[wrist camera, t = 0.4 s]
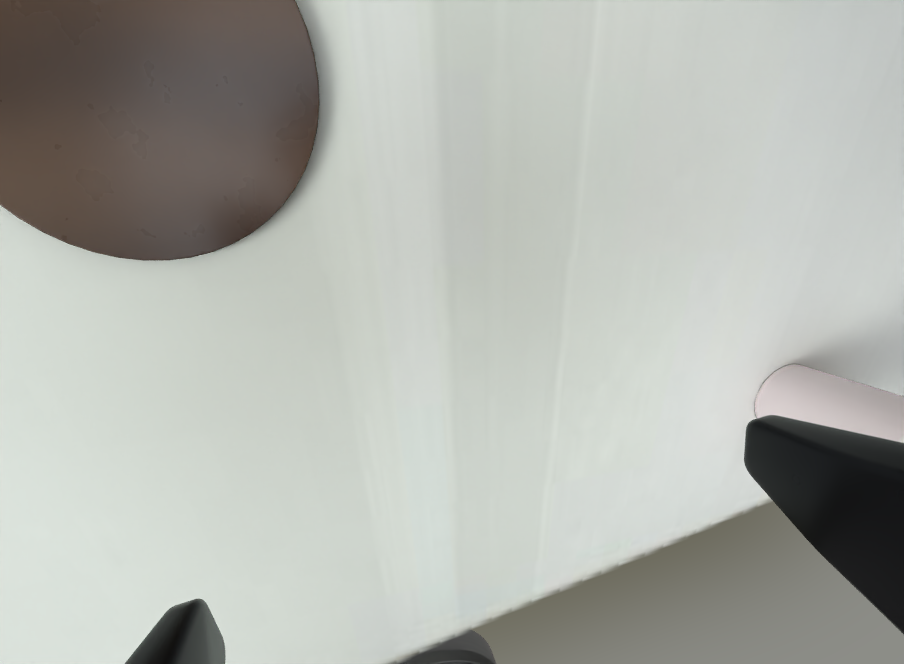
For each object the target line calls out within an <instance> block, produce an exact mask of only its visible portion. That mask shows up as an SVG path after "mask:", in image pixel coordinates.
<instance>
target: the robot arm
mask: <svg viewBox="0 0 904 664" xmlns="http://www.w3.org/2000/svg"><path fill="white" fill-rule="evenodd" d="M744 462H745V466H746V468H747V470H748V472H749V474H750V475H751V476H752V477H753V478H754V480H755V481H756V482H757V483H758V484H759V485H760V486H761V488H762V489H763V490H764V491H765V492H766V493H767V494H768V496H769V497H770V498H771V499H772V500H773V501H774V502H775V504H776V505H777V506H778V507H779V508H780V509H781V510H782V511H783V513H784V514H785V515H786V516H787V517H788V518H789V519H790V521H791V522H792V523H793V524H794V525H795V526H796V527H797V529H798V530H799V531H800V532H801V533H802V534H803V535H804V537H805V538H806V539H807V540H808V541H809V542H810V543H811V544H812V545H813V546H814V547H815V549H817V551H818V552H820V554H821V555H822V556H823V557H824V558H825V559H826V560H827V561H828V562H829V563H831V564H832V565H833V566H834V567H835V568H836V569H837V570H838V571H839V572H840V573H841V574H842V575H843V576H844V577H845V578H846V579H847V580H848V581H849V582H850V583H851V584H852V585H853V586H854V587H856V589H857V590H858V591H860V592H861V593H862V594H863V595H864V596H865V597H866V598H867V599H868V600H869V601H870V602H871V603H872V604H873V605H874V606H875V607H876V608H877V609H878V610H879V611H880V612H881V613H882V614H883V615H884V616H886V617H887V619H888V620H890V621H891V622H892V623H893V624H894V625H895V626H896V627H897V628H898V629H899V630H900V631H901V632H902V633H903V634H904V443H902V442H897V441H893V440H888V439H883V438H879V437H874V436H869V435H865V434H860V433H856V432H851V431H846V430H842V429H837V428H833V427H828V426H823V425H819V424H814V423H810V422H805V421H800V420H796V419H791V418H787V417H782V416H777V415H767V416H764V417H761V418H758V419H754V420H752V421H750V422H749V423H748V425H747V427H746V438H745V453H744ZM125 664H225V645H224V640H223V637H222V635H221V633H220V630H219V628H218V626H217V624H216V622H215V620H214V618H213V616H212V614H211V612H210V610H209V608H208V605H207V604H206V602H205V601H204V600H202V599H194V600H191V601H188V602H185V603H182V604H179V605H176V606H174V607H172V608H170V609H169V610H168V611H167V612H166V613H165V614H164V615H163V617H162V618H161V619H160V620H159V622H158V623H157V624H156V625H155V627H154V628H153V629H152V630H151V632H150V633H149V634H148V635H147V637H146V638H145V639H144V640H143V642H142V643H141V644H140V645H139V647H138V648H137V649H136V650H135V652H134V653H133V654H132V655H131V657H130V658H129V659H128V660H127V662H126V663H125Z"/></svg>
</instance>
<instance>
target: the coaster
mask: <svg viewBox="0 0 904 664" xmlns="http://www.w3.org/2000/svg"><path fill="white" fill-rule="evenodd" d="M318 114H319V84H318V75H317V68H316V62H315V56H314V52H313V48H312V45H311V41H310V38H309V34H308V31H307V28H306V25H305V23H304V20H303V18H302V15H301V13H300V10H299V8H298V6H297V3H296V1H295V0H0V205H1V206H2V207H4V208H5V209H7V210H8V211H9V212H11V213H12V214H13V215H15V216H16V217H18V218H19V219H21V220H23V221H24V222H26V223H28V224H30V225H31V226H33V227H35V228H37V229H38V230H40V231H42V232H44V233H46V234H48V235H50V236H52V237H55V238H57V239H59V240H61V241H64V242H66V243H68V244H71V245H74V246H77V247H80V248H83V249H86V250H89V251H92V252H95V253H100V254H104V255H109V256H114V257H118V258H126V259H136V260H174V259H182V258H190V257H194V256H198V255H202V254H206V253H210V252H214V251H216V250H219V249H221V248H224V247H226V246H228V245H231V244H233V243H235V242H237V241H239V240H240V239H242V238H244V237H246V236H247V235H249V234H251V233H252V232H254V231H255V230H256V229H258V228H259V227H260V226H262V225H263V224H264V223H265V222H267V221H268V220H269V219H270V218H271V217H272V216H273V215H274V214H275V213H276V212H277V211H278V210H279V209H280V208H281V207H282V206H283V204H284V203H285V202H286V200H287V199H288V198H289V196H290V195H291V193H292V192H293V191H294V189H295V188H296V186H297V184H298V182H299V180H300V178H301V177H302V175H303V173H304V171H305V169H306V166H307V163H308V160H309V158H310V155H311V152H312V149H313V145H314V140H315V136H316V131H317V125H318Z"/></svg>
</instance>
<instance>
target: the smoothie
mask: <svg viewBox="0 0 904 664" xmlns="http://www.w3.org/2000/svg"><path fill="white" fill-rule="evenodd" d="M755 413H756V416H757V418H761V417H764V416H767V415H777V416H782V417H787V418H791V419H796V420H800V421H805V422H810V423H814V424H819V425H823V426H828V427H833V428H837V429H842V430H846V431H851V432H856V433H860V434H865V435H869V436H874V437H879V438H883V439H888V440H893V441H897V442H902V443H904V396H901V395H897V394H894V393H891V392H888V391H884V390H881V389H878V388H874V387H871V386H868V385H864V384H861V383H858V382H855V381H851V380H848V379H845V378H841V377H838V376H835V375H832V374H828V373H825V372H822V371H818V370H815V369H812V368H809V367H805V366H802V365H798V364H792V365H787V366H784V367H782V368H780V369H778V370H777V371H775V372H774V373H773V374H772V375H770V376H769V377H768V378H767V380H766V381H765V382H764V383H763V385H762V386H761V388H760V390H759V392H758V394H757V397H756V401H755Z"/></svg>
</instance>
